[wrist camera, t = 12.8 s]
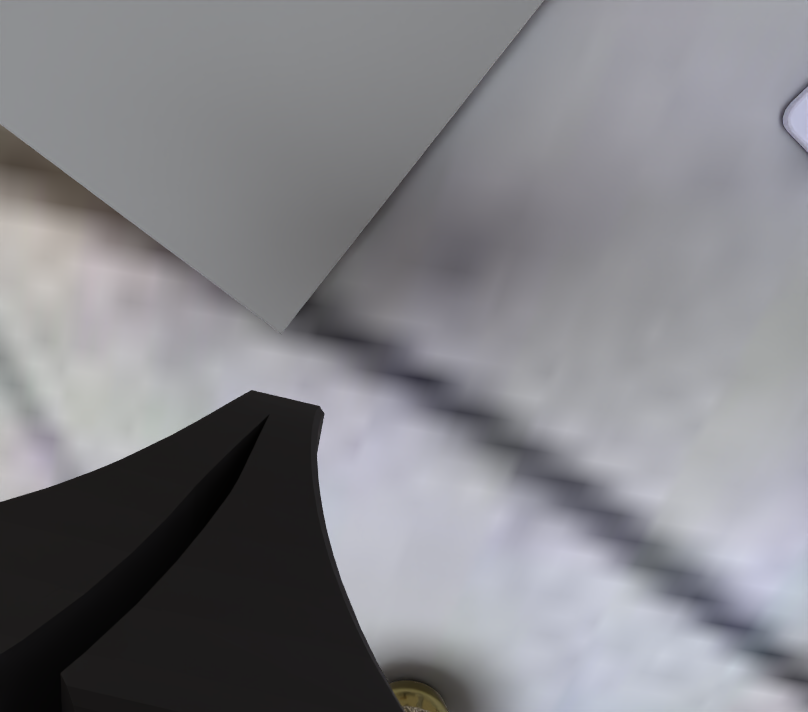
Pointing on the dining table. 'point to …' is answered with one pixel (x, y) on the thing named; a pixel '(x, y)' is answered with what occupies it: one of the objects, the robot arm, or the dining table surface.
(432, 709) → the cup
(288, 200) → the base plate
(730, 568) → the dining table surface
